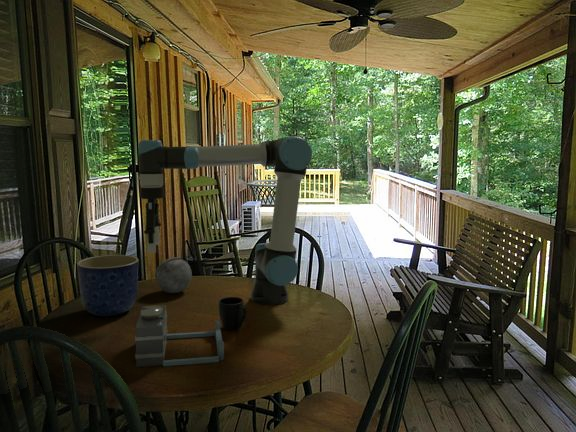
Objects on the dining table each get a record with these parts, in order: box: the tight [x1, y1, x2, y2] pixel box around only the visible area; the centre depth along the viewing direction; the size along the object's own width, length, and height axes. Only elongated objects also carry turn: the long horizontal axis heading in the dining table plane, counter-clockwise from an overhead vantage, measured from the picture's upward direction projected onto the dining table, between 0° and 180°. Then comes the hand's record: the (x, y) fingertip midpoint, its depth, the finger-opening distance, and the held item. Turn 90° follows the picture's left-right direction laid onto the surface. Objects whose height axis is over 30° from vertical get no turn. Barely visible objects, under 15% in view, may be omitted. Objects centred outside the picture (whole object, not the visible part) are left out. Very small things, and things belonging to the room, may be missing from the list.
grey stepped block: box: [134, 304, 168, 368], centre depth 129 cm, size 7×18×13 cm, turn 12°
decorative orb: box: [154, 257, 193, 294], centre depth 186 cm, size 15×14×15 cm
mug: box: [218, 296, 248, 332], centre depth 147 cm, size 8×12×10 cm
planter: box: [76, 254, 139, 317], centre depth 162 cm, size 21×21×19 cm
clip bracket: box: [162, 320, 225, 367], centre depth 132 cm, size 16×20×5 cm
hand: (153, 248), depth 152 cm, fingers open, 13 cm apart
